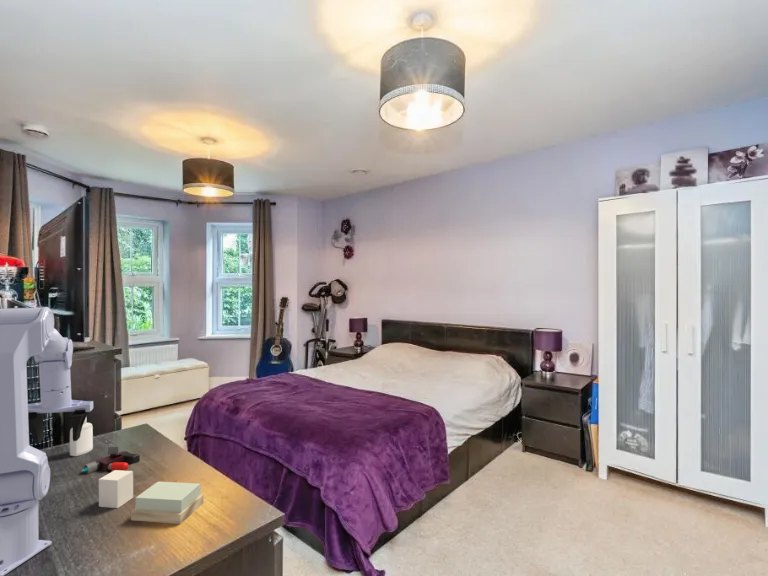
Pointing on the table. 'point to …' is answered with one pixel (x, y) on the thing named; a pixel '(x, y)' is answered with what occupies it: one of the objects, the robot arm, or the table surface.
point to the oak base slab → (166, 514)
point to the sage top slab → (168, 496)
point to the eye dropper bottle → (82, 440)
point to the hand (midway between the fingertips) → (58, 440)
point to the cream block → (115, 488)
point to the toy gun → (113, 461)
